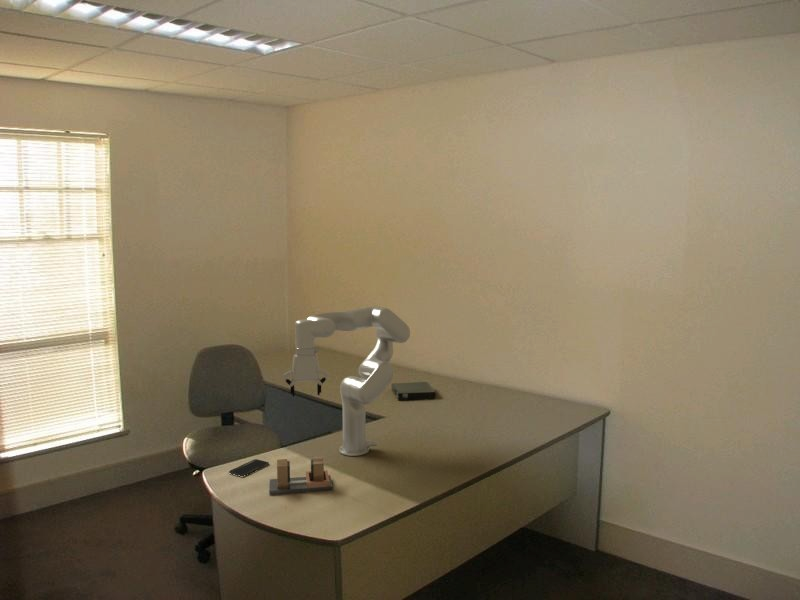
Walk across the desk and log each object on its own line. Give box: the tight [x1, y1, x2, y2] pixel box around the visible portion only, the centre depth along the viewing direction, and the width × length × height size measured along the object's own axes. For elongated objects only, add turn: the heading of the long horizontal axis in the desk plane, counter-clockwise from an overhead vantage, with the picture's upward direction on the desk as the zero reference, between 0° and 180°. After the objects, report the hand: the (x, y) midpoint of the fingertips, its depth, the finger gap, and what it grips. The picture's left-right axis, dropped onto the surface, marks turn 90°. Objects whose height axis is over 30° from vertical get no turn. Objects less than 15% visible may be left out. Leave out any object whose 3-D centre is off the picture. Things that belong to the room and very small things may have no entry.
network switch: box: [391, 381, 437, 402], centre depth 344 cm, size 23×23×5 cm
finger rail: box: [268, 458, 333, 496], centre depth 224 cm, size 22×10×10 cm, turn 101°
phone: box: [228, 458, 270, 476], centre depth 240 cm, size 8×1×15 cm
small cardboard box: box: [310, 456, 325, 481], centre depth 225 cm, size 6×4×8 cm
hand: (306, 395), depth 241 cm, fingers open, 9 cm apart
